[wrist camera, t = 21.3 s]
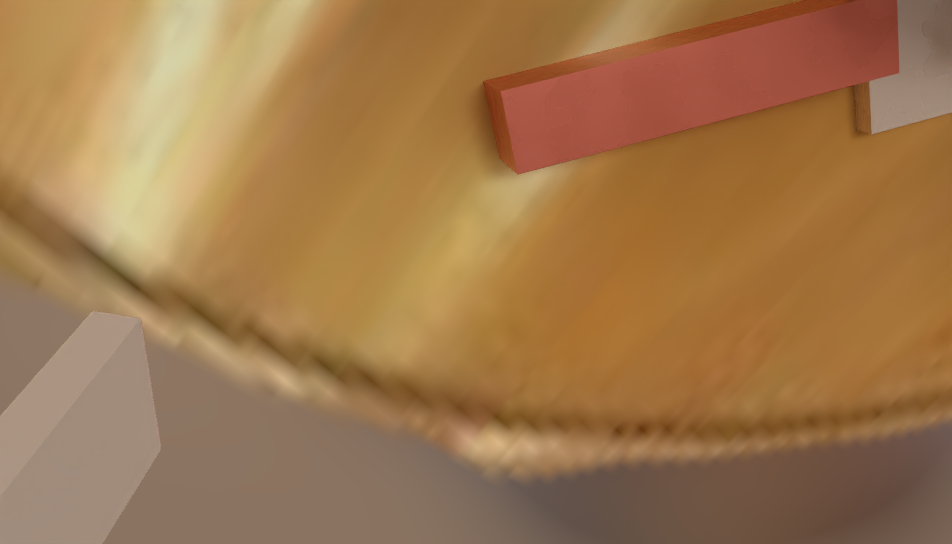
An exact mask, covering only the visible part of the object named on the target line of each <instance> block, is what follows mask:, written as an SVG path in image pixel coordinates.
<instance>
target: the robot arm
mask: <svg viewBox="0 0 952 544" xmlns="http://www.w3.org/2000/svg"><path fill="white" fill-rule="evenodd" d="M160 450H161V444H160V437H159V431H158V424H157V418H156V412H155V405H154V400H153V393H152V386H151V380H150V374H149V367H148V361H147V355H146V349H145V342H144V336H143V330H142V323H141V318H135V317H129V316H122V315H116V314H109V313H103V312H96V311H92V312H91V313H90V314H89V315H88V316H87V318H86V319H85V320H84V321H83V322H82V323H81V324H80V326H79V327H78V328H77V329H76V330H75V331H74V333H73V334H72V335H71V336H70V337H69V338H68V339H67V340H66V342H65V343H64V344H63V345H62V346H61V347H60V348H59V349H58V351H57V352H56V353H55V354H54V355H53V356H52V357H51V359H50V360H49V361H48V362H47V363H46V364H45V365H44V367H43V368H42V369H41V370H40V371H39V372H38V373H37V374H36V376H35V377H34V378H33V379H32V380H31V381H30V382H29V384H28V385H27V386H26V387H25V388H24V389H23V390H22V391H21V393H20V394H19V395H18V396H17V397H16V398H15V399H14V401H13V402H12V403H11V404H10V405H9V406H8V407H7V409H6V410H5V411H4V412H3V413H2V414H1V415H0V544H103V542H104V541H105V539H106V538H107V536H108V534H109V533H110V531H111V529H112V528H113V526H114V525H115V523H116V521H117V520H118V518H119V517H120V515H121V513H122V512H123V510H124V508H125V507H126V505H127V504H128V502H129V500H130V499H131V497H132V496H133V494H134V492H135V491H136V489H137V487H138V486H139V484H140V483H141V481H142V479H143V478H144V476H145V475H146V473H147V471H148V470H149V468H150V467H151V465H152V463H153V462H154V460H155V458H156V457H157V455H158V454H159V452H160Z"/></svg>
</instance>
